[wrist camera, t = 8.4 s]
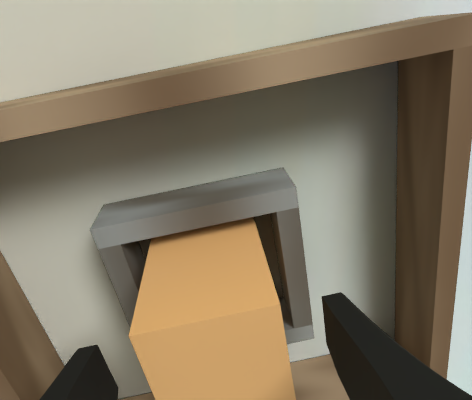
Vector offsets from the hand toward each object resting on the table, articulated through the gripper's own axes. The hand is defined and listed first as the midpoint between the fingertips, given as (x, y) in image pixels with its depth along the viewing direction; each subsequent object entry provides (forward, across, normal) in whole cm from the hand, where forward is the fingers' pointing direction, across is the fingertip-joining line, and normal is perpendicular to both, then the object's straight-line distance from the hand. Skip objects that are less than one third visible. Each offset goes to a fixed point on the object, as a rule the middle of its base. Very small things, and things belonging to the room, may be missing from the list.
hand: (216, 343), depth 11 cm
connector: (+5, 0, 0) cm, 5 cm away
